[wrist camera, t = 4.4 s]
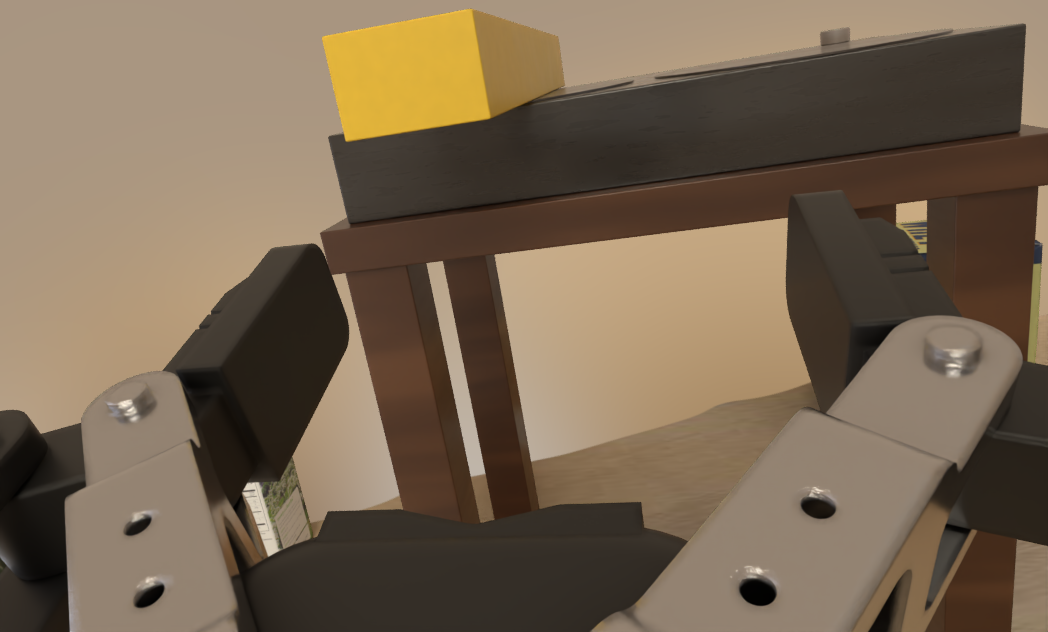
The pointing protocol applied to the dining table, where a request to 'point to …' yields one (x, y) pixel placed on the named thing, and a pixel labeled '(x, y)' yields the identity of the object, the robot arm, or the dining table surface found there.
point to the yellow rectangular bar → (438, 72)
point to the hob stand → (682, 223)
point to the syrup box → (279, 511)
